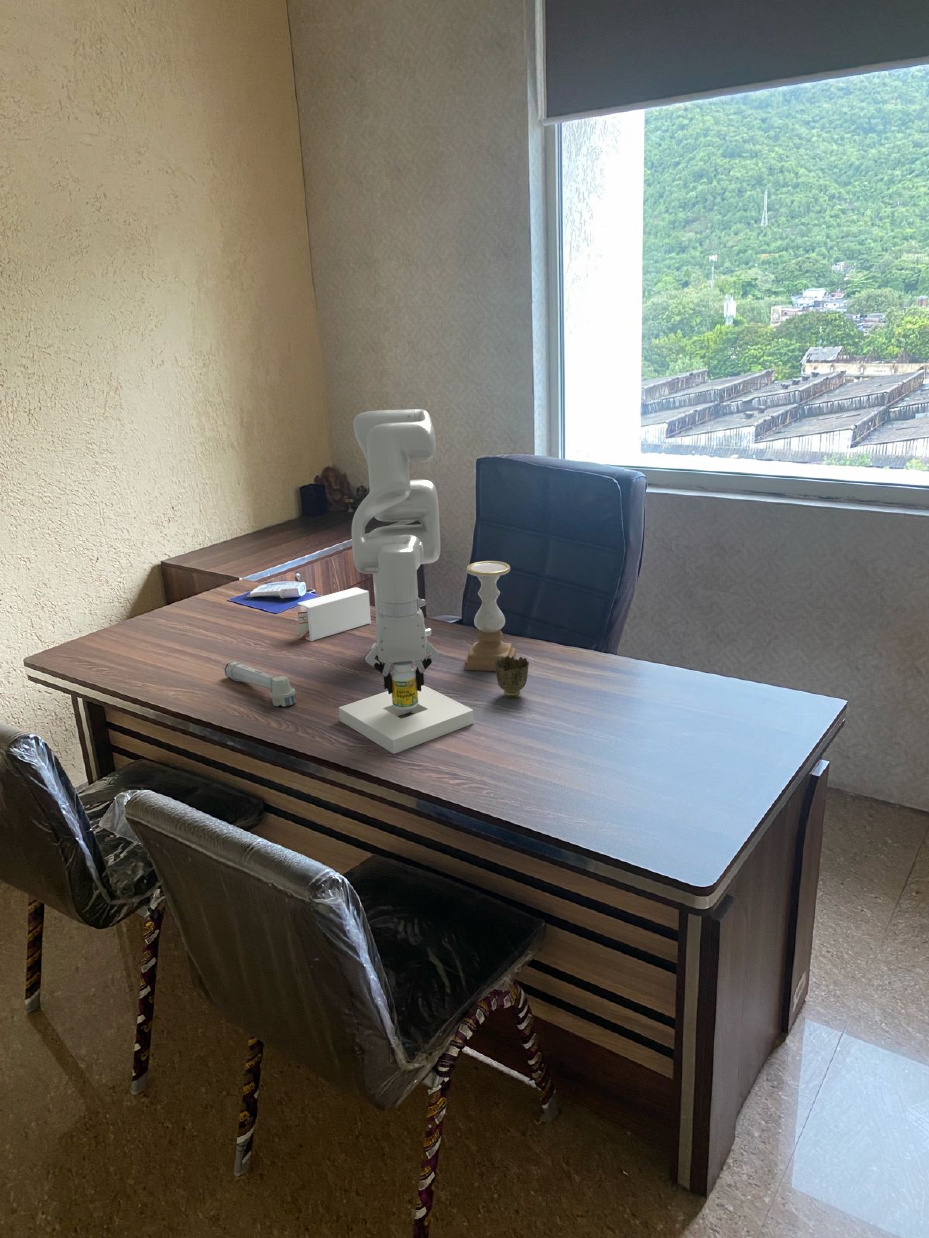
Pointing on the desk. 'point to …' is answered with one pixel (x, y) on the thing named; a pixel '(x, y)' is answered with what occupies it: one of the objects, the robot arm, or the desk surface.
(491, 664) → the candle holder
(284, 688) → the toothbrush head
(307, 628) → the white box
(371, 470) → the robot arm
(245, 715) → the desk surface
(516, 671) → the cup
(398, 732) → the hole board
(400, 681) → the supplement bottle
